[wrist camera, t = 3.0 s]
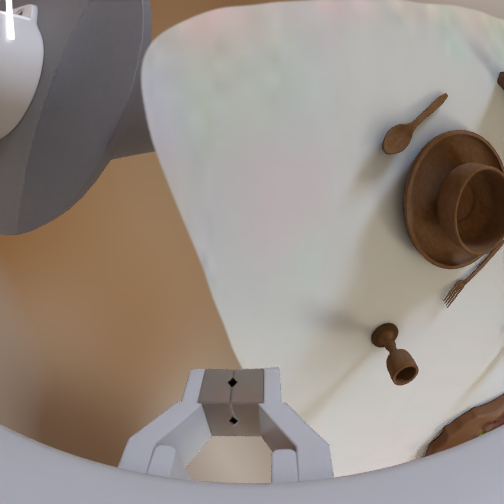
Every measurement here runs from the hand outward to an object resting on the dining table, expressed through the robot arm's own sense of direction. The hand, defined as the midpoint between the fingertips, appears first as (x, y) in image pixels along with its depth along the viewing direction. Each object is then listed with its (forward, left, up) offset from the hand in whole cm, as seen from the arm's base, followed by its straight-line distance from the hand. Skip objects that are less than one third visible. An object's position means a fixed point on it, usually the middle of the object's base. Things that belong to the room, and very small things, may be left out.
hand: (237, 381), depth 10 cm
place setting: (+13, +8, -15) cm, 21 cm away
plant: (+52, -15, -15) cm, 56 cm away
